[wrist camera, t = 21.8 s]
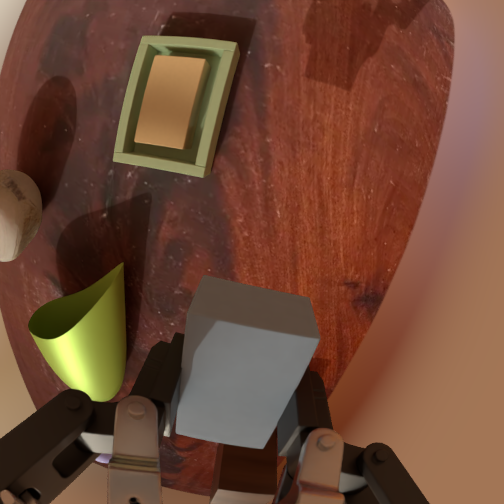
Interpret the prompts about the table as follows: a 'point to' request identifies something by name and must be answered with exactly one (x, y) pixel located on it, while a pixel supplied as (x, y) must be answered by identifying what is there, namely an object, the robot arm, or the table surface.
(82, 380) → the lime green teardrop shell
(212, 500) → the stand
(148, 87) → the birch pad
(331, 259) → the table surface
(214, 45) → the olive green tray
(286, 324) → the rubber pad
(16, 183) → the decorative object
